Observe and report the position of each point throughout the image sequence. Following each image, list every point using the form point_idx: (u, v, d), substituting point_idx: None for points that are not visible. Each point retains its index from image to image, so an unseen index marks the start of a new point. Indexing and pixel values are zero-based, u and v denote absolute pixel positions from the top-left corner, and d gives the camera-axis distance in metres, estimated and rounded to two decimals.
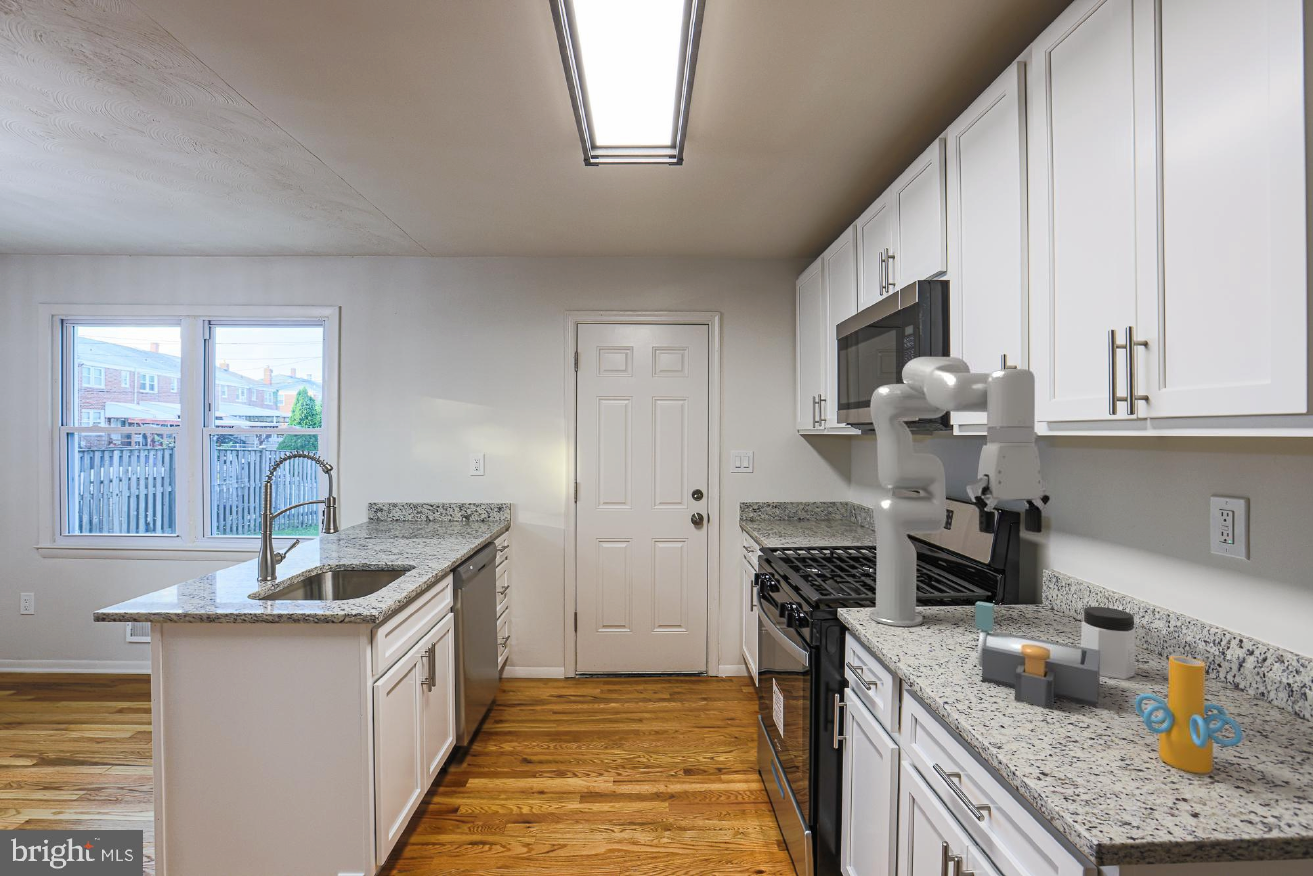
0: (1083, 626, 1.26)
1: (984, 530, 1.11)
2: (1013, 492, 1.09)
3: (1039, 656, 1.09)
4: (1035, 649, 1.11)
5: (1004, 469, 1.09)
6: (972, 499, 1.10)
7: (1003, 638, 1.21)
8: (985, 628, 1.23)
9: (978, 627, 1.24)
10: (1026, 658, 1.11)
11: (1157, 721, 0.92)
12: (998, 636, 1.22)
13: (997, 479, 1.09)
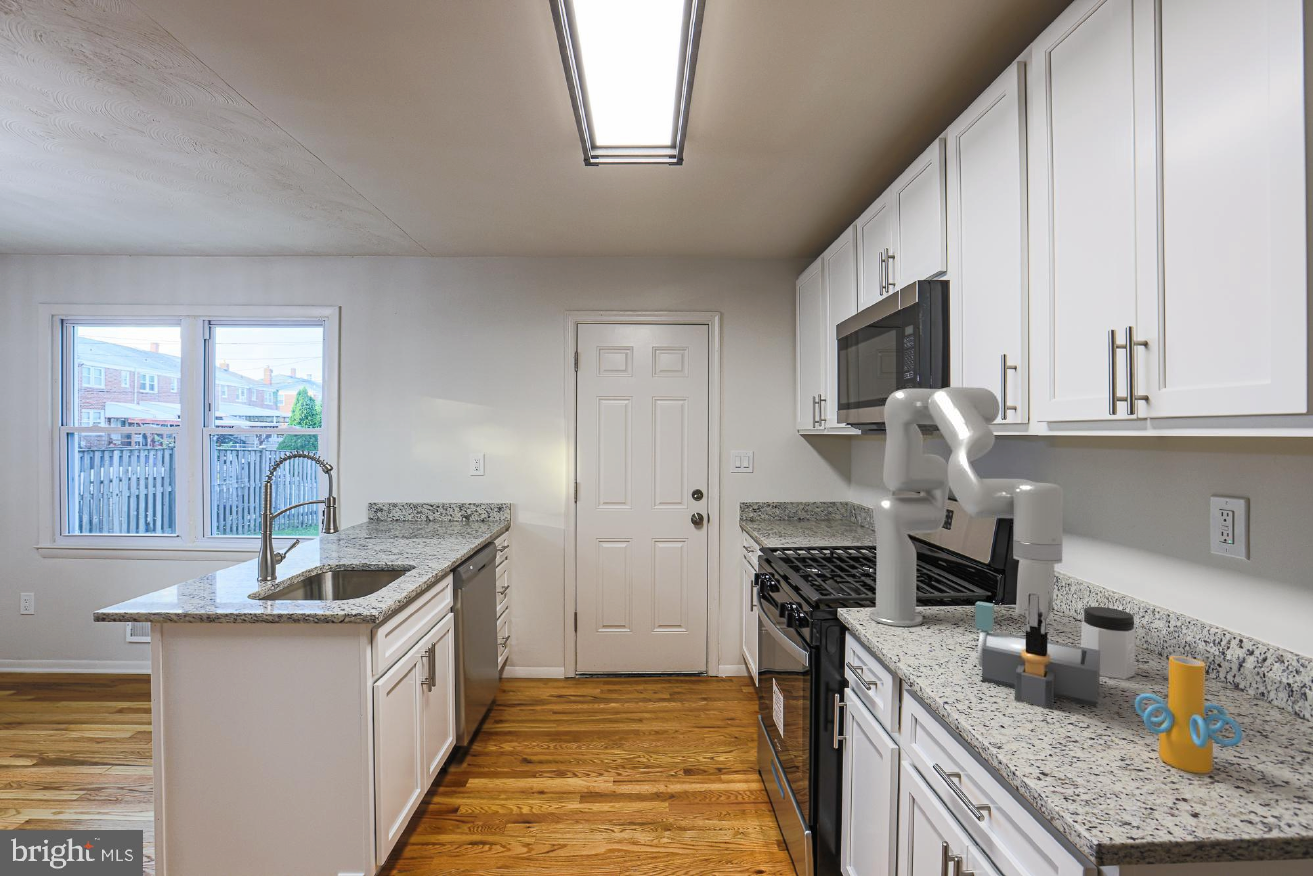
0: (1083, 626, 1.26)
1: (1034, 652, 1.10)
2: (1050, 609, 1.08)
3: (1039, 661, 1.09)
4: None
5: (1050, 588, 1.07)
6: None
7: (1003, 638, 1.21)
8: (985, 628, 1.23)
9: (978, 627, 1.24)
10: (1026, 663, 1.11)
11: (1157, 721, 0.92)
12: (998, 636, 1.22)
13: (1047, 599, 1.06)
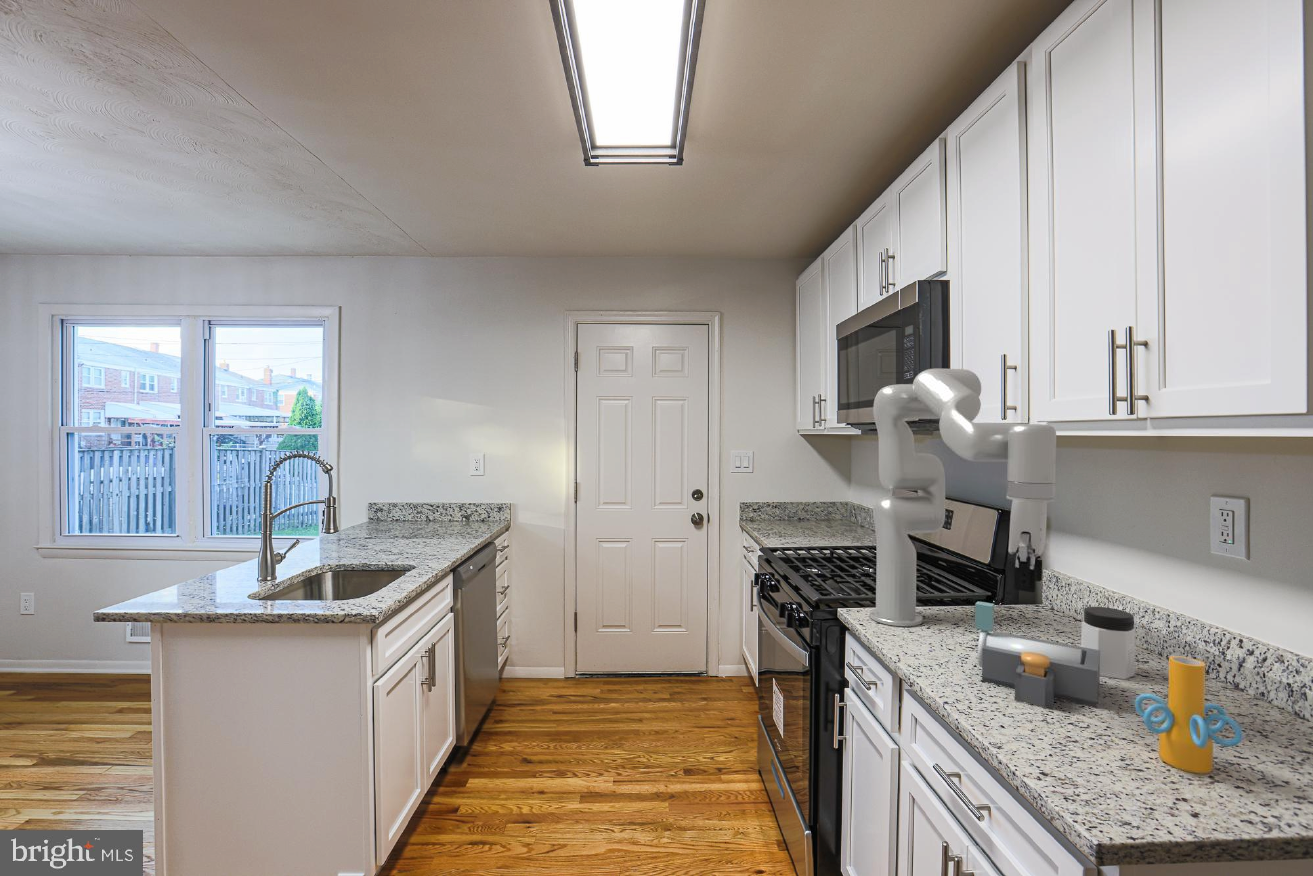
0: (1083, 626, 1.26)
1: (1022, 588, 1.09)
2: (1042, 547, 1.10)
3: (1039, 664, 1.09)
4: (1035, 657, 1.11)
5: (1042, 526, 1.09)
6: (1021, 559, 1.07)
7: (1003, 638, 1.21)
8: (985, 628, 1.23)
9: (978, 627, 1.24)
10: (1026, 666, 1.11)
11: (1157, 721, 0.92)
12: (998, 636, 1.22)
13: (1039, 537, 1.08)
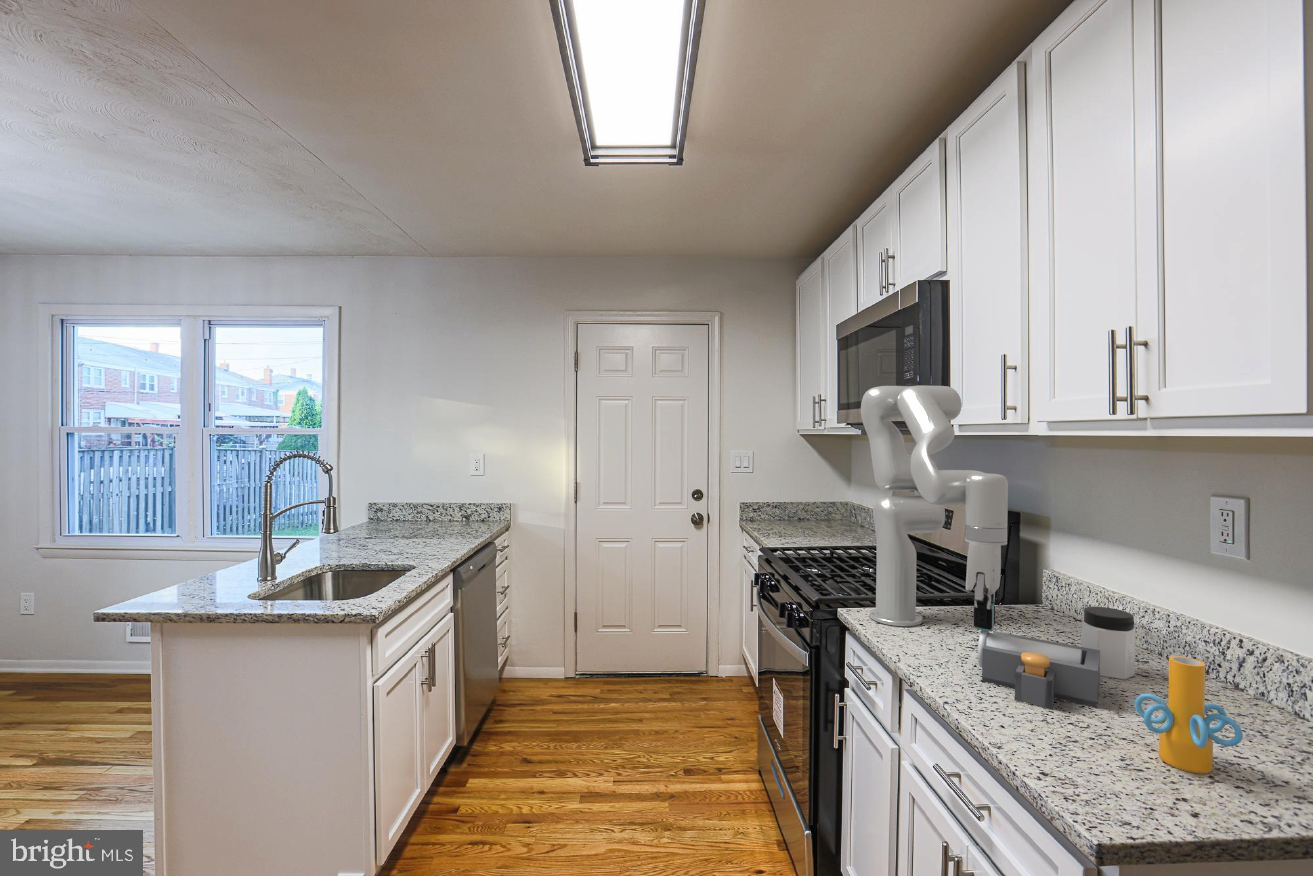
0: (1083, 626, 1.26)
1: (981, 626, 1.23)
2: (996, 586, 1.22)
3: (1039, 664, 1.09)
4: (1035, 657, 1.11)
5: (995, 567, 1.20)
6: None
7: (1003, 638, 1.21)
8: None
9: None
10: (1026, 666, 1.11)
11: (1157, 721, 0.92)
12: (998, 636, 1.22)
13: (992, 577, 1.19)
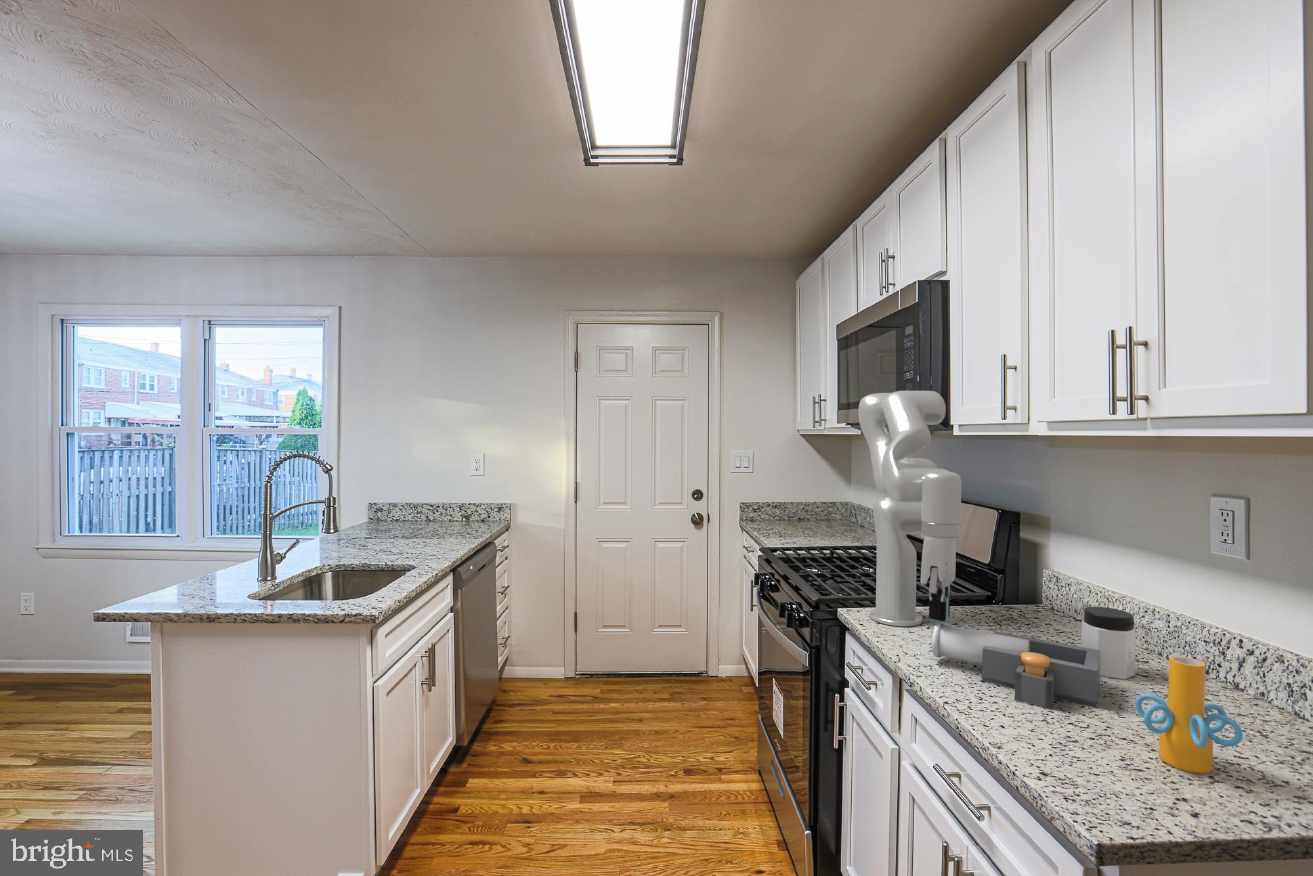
0: (1083, 626, 1.26)
1: (935, 618, 1.28)
2: (949, 579, 1.27)
3: (1039, 664, 1.09)
4: (1035, 657, 1.11)
5: (948, 561, 1.25)
6: None
7: (956, 630, 1.26)
8: None
9: None
10: (1026, 666, 1.11)
11: (1157, 721, 0.92)
12: (952, 627, 1.27)
13: (945, 571, 1.25)
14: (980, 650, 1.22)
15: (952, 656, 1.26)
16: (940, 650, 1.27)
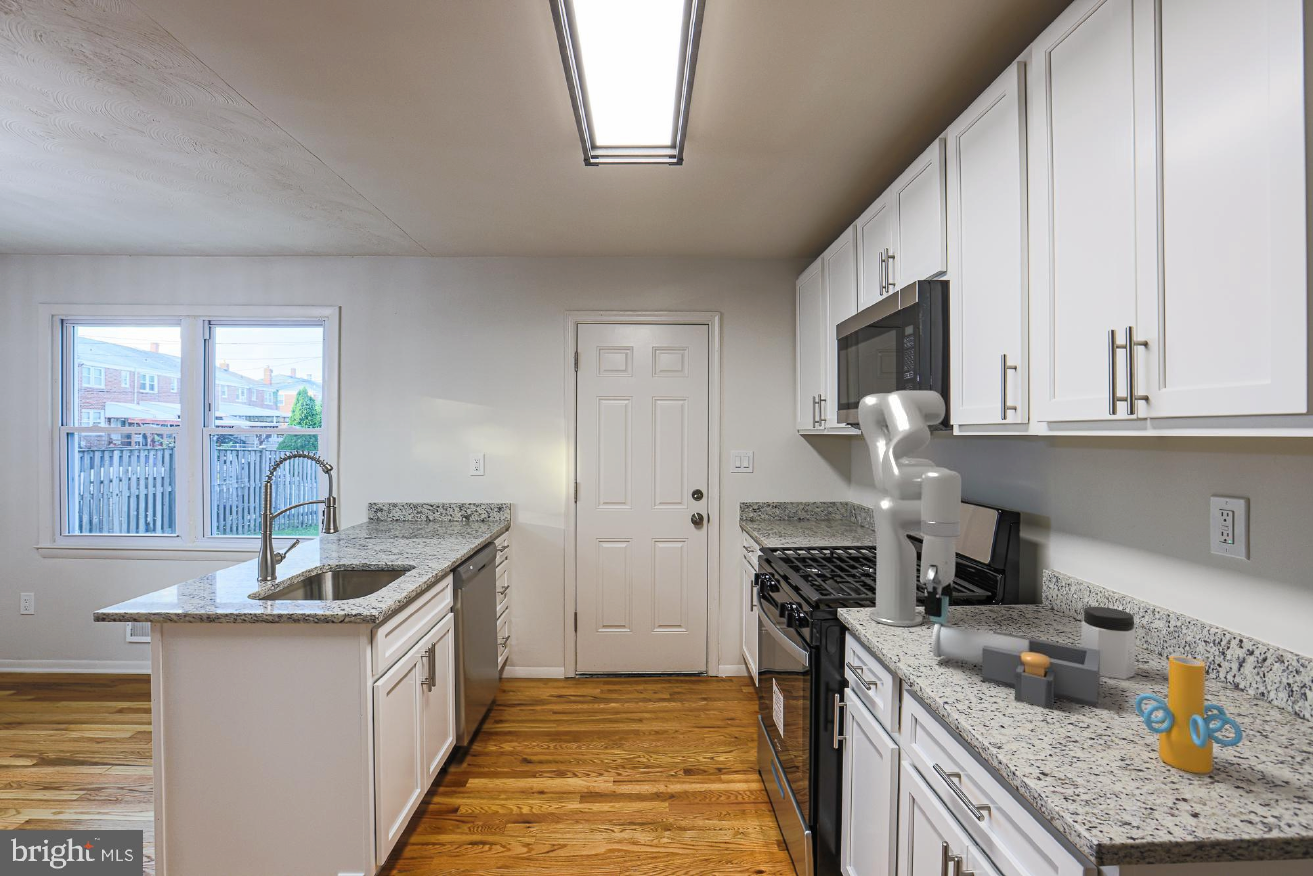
0: (1083, 626, 1.26)
1: (931, 614, 1.26)
2: (949, 578, 1.27)
3: (1039, 664, 1.09)
4: (1035, 657, 1.11)
5: (947, 560, 1.25)
6: (928, 589, 1.24)
7: (956, 630, 1.26)
8: (939, 620, 1.28)
9: (933, 619, 1.29)
10: (1026, 666, 1.11)
11: (1157, 721, 0.92)
12: (951, 627, 1.27)
13: (945, 569, 1.25)
14: (980, 650, 1.22)
15: (952, 656, 1.26)
16: (940, 650, 1.27)
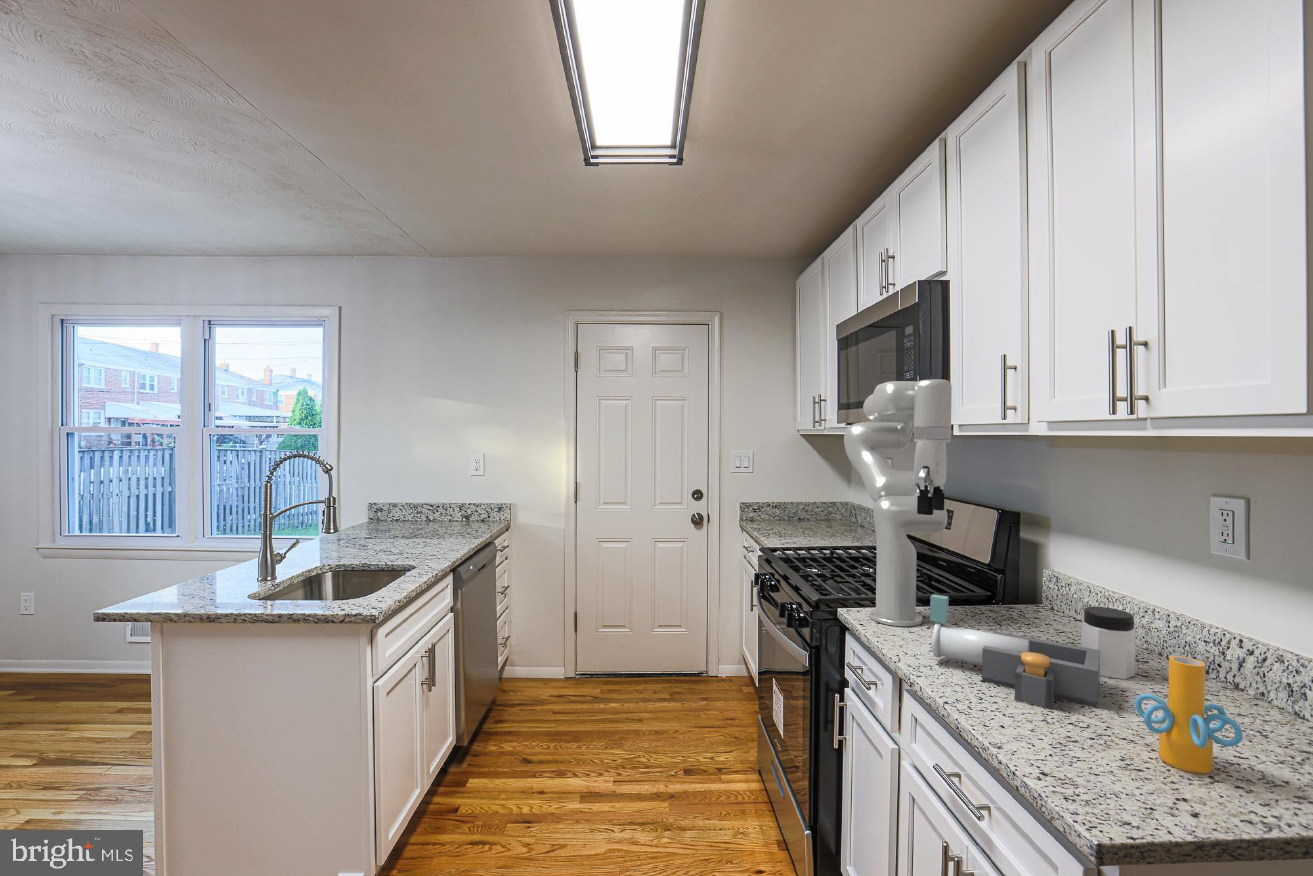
0: (1083, 626, 1.26)
1: (923, 512, 1.33)
2: (940, 480, 1.35)
3: (1039, 664, 1.09)
4: (1035, 657, 1.11)
5: (939, 461, 1.33)
6: (921, 487, 1.31)
7: (956, 630, 1.26)
8: (939, 620, 1.28)
9: (933, 619, 1.29)
10: (1026, 666, 1.11)
11: (1157, 721, 0.92)
12: (951, 627, 1.27)
13: (936, 470, 1.32)
14: (980, 650, 1.22)
15: (952, 656, 1.26)
16: (940, 650, 1.27)
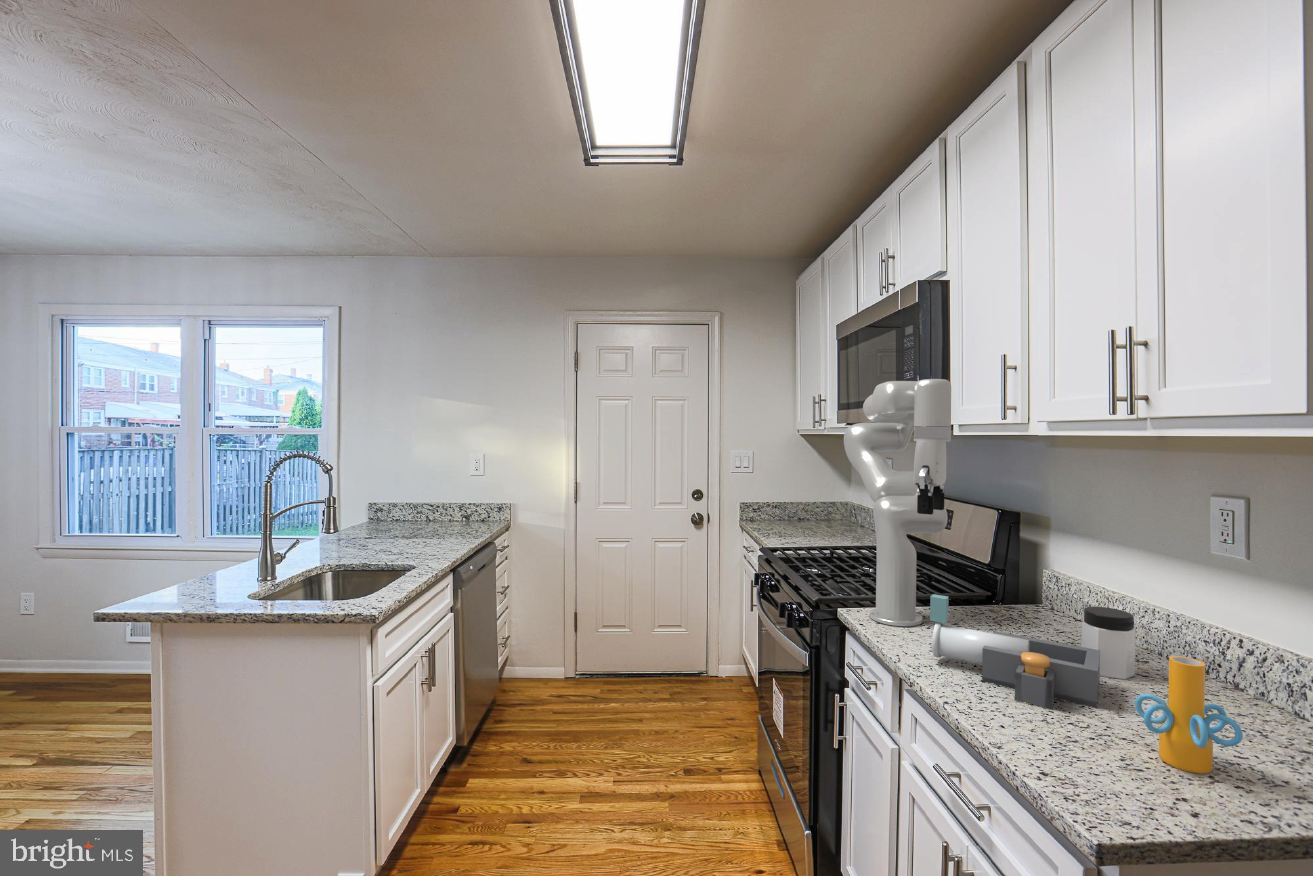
0: (1083, 626, 1.26)
1: (923, 512, 1.33)
2: (940, 479, 1.35)
3: (1039, 664, 1.09)
4: (1035, 657, 1.11)
5: (939, 461, 1.33)
6: (921, 487, 1.31)
7: (956, 630, 1.26)
8: (939, 620, 1.28)
9: (933, 619, 1.29)
10: (1026, 666, 1.11)
11: (1157, 721, 0.92)
12: (951, 627, 1.27)
13: (936, 469, 1.32)
14: (980, 650, 1.22)
15: (952, 656, 1.26)
16: (940, 650, 1.27)
